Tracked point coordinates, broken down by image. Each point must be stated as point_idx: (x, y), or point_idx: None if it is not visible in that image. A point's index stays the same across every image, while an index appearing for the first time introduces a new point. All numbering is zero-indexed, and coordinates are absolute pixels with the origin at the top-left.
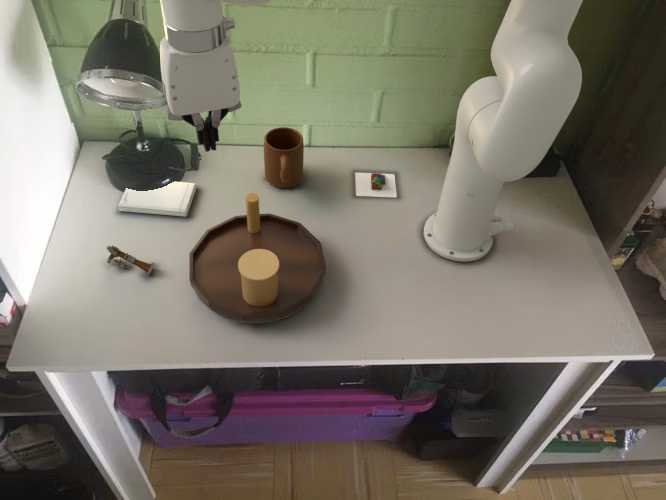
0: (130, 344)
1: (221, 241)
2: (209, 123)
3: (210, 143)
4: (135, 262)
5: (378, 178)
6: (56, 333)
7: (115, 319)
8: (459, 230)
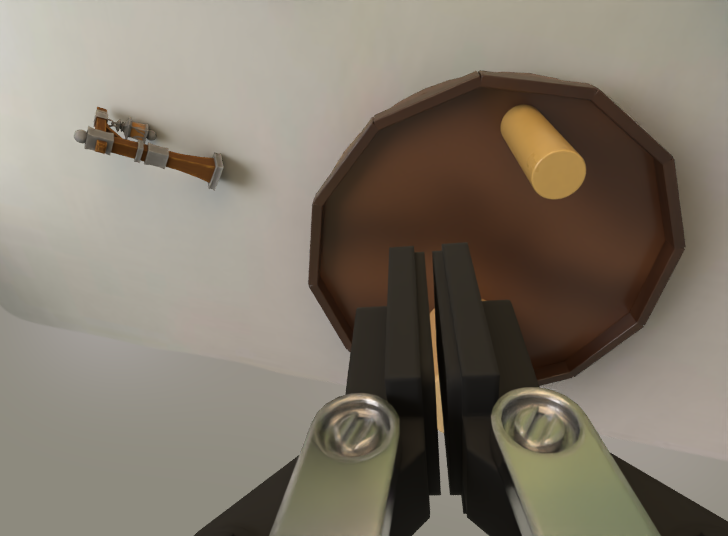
0: (197, 328)
1: (409, 155)
2: (471, 515)
3: (439, 378)
4: (170, 166)
5: None
6: (50, 277)
7: (158, 273)
8: None
